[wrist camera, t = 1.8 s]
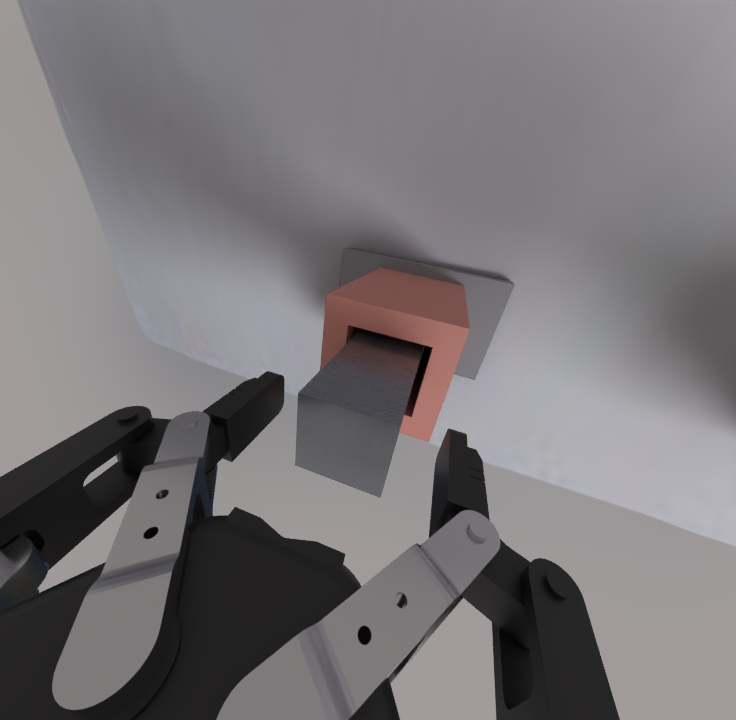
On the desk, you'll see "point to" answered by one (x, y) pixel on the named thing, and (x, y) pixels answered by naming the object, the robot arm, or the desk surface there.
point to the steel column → (357, 410)
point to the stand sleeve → (417, 321)
